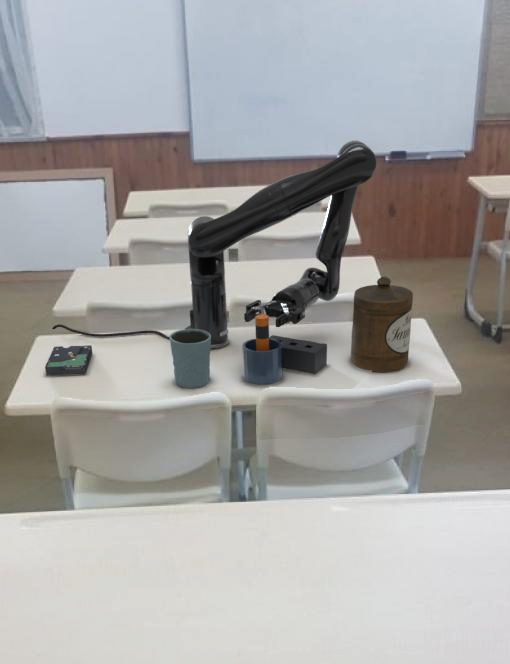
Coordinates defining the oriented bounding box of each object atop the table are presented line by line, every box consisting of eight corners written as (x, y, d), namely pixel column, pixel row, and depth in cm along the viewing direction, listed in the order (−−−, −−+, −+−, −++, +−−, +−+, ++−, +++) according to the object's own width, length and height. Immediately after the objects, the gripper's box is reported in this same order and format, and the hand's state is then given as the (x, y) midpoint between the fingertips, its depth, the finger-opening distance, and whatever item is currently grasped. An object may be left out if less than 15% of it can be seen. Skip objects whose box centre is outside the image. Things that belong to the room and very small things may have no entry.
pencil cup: (236, 382, 211) (235, 348, 206) (255, 369, 218) (254, 335, 213) (270, 389, 207) (270, 354, 202) (288, 375, 214) (288, 341, 209)
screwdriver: (254, 378, 212) (252, 317, 203) (260, 373, 214) (259, 313, 206) (265, 380, 210) (264, 319, 202) (271, 375, 213) (270, 315, 204)
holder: (260, 365, 220) (259, 343, 217) (272, 356, 225) (272, 334, 222) (314, 375, 213) (315, 353, 210) (326, 366, 219) (327, 344, 215)
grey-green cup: (179, 372, 217) (176, 327, 211) (217, 375, 216) (215, 329, 209) (168, 388, 209) (164, 341, 203) (207, 390, 207) (205, 344, 201)
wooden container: (402, 375, 212) (408, 288, 200) (344, 369, 216) (347, 283, 204) (412, 354, 224) (419, 271, 212) (357, 349, 228) (361, 267, 216)
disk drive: (54, 356, 230) (46, 376, 217) (53, 346, 228) (44, 366, 216) (93, 354, 230) (86, 374, 218) (91, 344, 229) (85, 364, 216)
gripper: (267, 283, 217) (235, 301, 205) (317, 290, 211) (287, 309, 199) (267, 312, 221) (236, 331, 210) (316, 319, 215) (287, 340, 204)
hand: (261, 320), depth 204 cm, fingers open, 8 cm apart
